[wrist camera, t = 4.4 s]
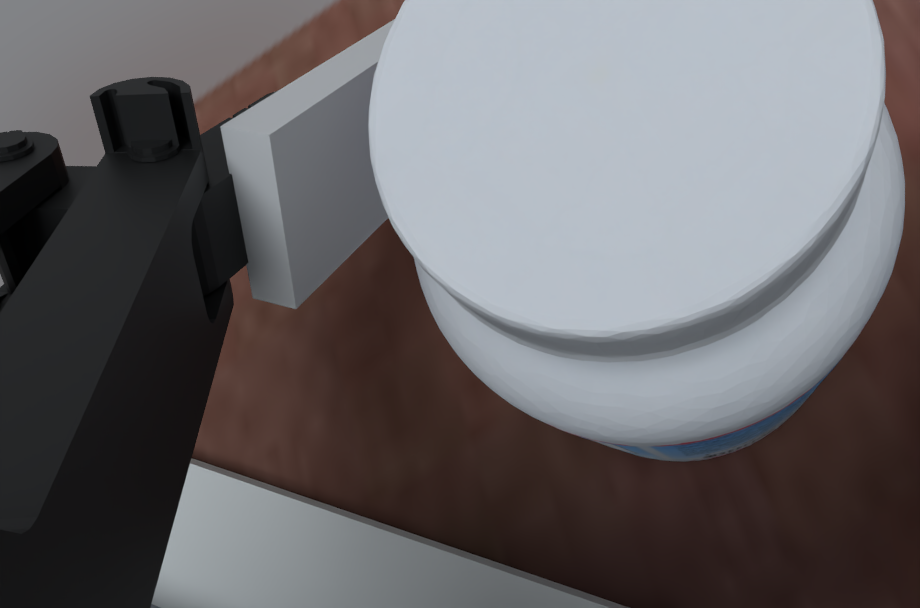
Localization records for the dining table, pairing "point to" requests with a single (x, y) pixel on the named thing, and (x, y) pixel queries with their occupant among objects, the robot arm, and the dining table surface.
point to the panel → (324, 557)
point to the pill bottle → (643, 203)
